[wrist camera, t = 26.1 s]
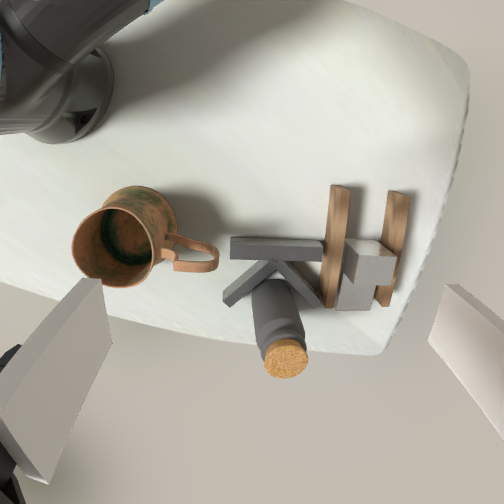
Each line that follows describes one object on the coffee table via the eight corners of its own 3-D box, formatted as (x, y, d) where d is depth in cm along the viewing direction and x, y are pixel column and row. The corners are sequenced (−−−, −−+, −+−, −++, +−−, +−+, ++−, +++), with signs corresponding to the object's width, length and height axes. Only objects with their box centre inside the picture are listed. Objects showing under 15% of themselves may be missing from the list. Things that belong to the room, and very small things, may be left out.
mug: (218, 274, 45) (213, 319, 33) (100, 262, 43) (65, 301, 32) (225, 192, 41) (222, 212, 30) (98, 184, 39) (55, 201, 28)
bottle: (285, 316, 48) (304, 384, 34) (247, 311, 47) (254, 380, 33) (295, 281, 46) (320, 343, 32) (255, 275, 45) (265, 338, 31)
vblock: (224, 236, 43) (223, 244, 40) (323, 240, 44) (329, 247, 41) (223, 297, 46) (222, 307, 43) (315, 298, 47) (320, 308, 44)
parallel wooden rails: (330, 184, 41) (341, 190, 37) (395, 191, 42) (410, 197, 38) (317, 293, 47) (325, 308, 42) (377, 292, 47) (389, 306, 43)
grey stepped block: (341, 237, 44) (359, 255, 37) (375, 240, 44) (397, 256, 38) (330, 300, 47) (344, 325, 41) (363, 301, 48) (380, 324, 41)
